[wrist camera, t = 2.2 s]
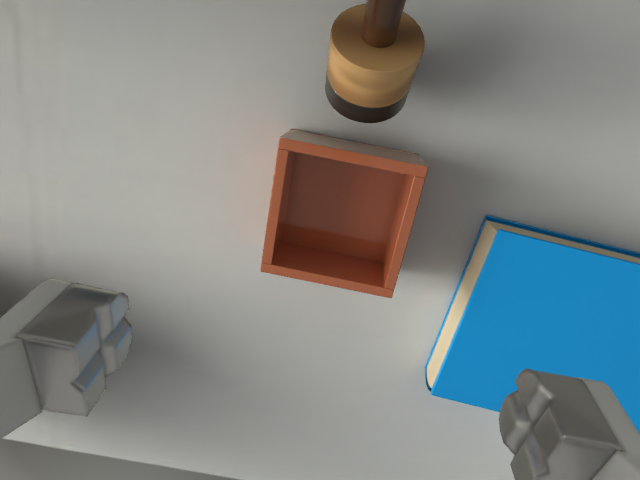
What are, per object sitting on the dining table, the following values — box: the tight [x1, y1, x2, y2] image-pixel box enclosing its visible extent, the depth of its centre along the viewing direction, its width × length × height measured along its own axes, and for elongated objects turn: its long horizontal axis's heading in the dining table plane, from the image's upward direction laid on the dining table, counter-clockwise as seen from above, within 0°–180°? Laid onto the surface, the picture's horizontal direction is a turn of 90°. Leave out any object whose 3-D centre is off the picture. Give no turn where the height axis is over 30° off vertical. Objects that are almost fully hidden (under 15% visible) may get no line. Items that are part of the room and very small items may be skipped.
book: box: [425, 215, 640, 434], centre depth 37 cm, size 17×4×25 cm
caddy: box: [261, 129, 428, 298], centre depth 34 cm, size 11×11×6 cm
